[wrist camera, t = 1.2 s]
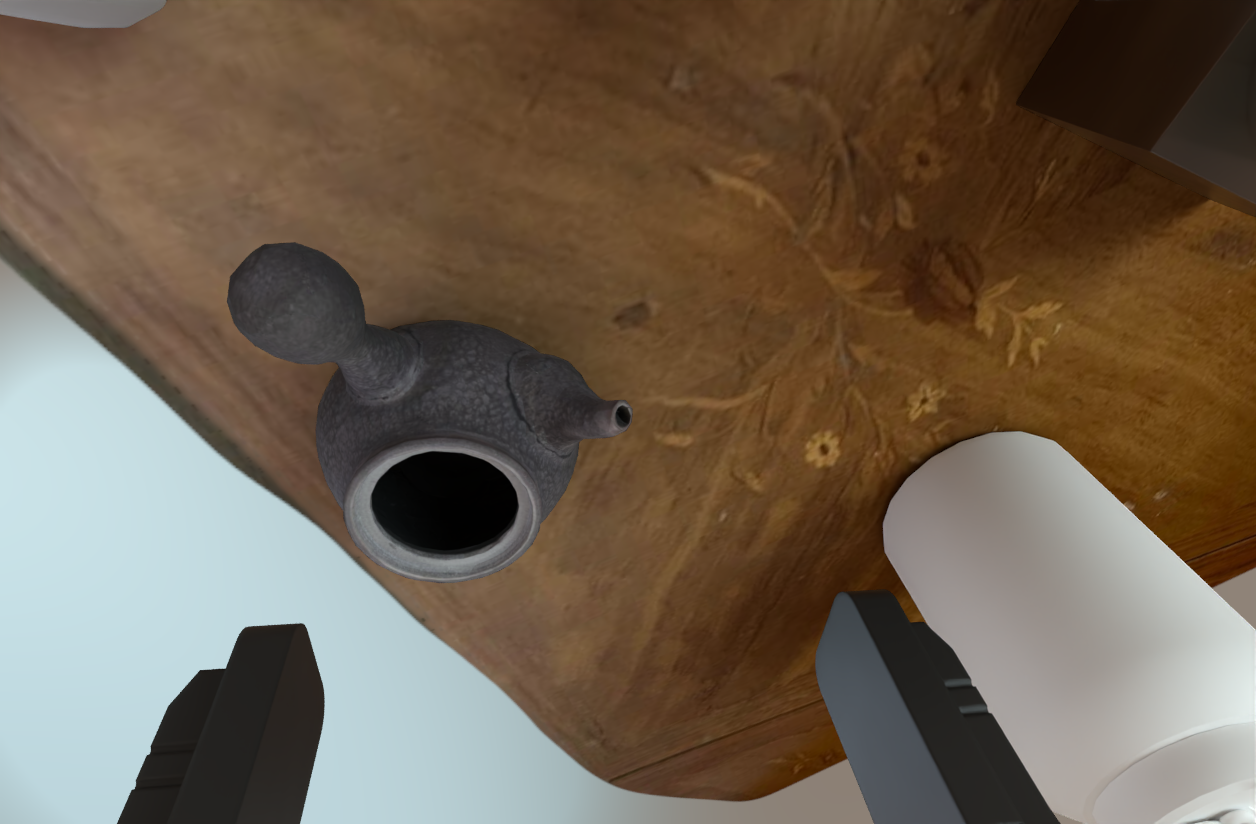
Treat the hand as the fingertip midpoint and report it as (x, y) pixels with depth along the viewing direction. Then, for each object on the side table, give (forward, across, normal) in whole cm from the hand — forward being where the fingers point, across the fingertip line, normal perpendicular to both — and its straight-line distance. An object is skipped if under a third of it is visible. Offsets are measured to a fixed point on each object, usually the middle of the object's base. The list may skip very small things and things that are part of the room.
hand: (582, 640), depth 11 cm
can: (+24, -28, +20) cm, 41 cm away
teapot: (+24, +5, +8) cm, 26 cm away
